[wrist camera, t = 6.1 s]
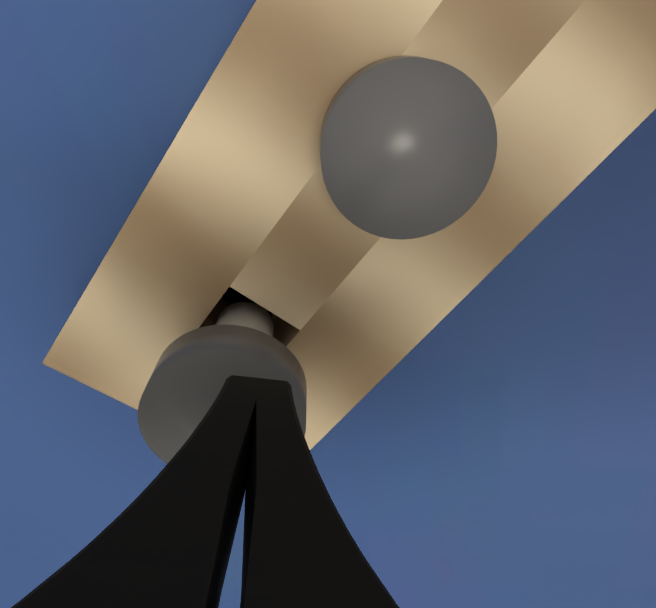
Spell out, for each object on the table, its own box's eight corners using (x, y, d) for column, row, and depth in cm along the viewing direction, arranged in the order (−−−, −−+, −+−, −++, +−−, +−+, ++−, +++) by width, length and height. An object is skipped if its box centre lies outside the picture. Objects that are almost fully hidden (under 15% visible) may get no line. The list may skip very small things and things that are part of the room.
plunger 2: (475, 111, 16) (534, 139, 12) (389, 212, 18) (414, 269, 14) (375, 18, 15) (401, 12, 10) (292, 137, 16) (285, 174, 12)
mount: (595, -531, 10) (736, -814, 7) (812, -152, 14) (984, -216, 10) (88, 306, 20) (42, 363, 17) (284, 413, 23) (279, 479, 20)
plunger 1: (332, 315, 17) (339, 410, 13) (262, 394, 19) (248, 502, 14) (224, 245, 15) (191, 326, 11) (159, 337, 17) (108, 438, 13)
